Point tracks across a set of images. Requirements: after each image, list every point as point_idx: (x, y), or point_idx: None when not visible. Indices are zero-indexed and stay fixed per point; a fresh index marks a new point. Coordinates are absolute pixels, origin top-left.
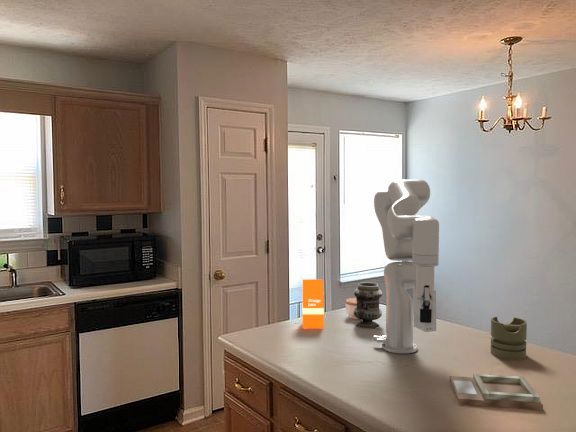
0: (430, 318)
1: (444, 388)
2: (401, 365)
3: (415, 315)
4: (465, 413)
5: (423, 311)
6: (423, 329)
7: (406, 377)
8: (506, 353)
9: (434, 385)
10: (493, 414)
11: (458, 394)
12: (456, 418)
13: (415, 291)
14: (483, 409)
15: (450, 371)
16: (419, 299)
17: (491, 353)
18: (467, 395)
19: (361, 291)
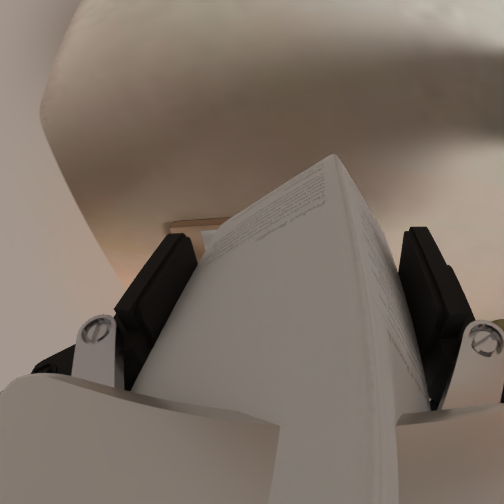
0: None
1: (262, 195)
2: (429, 75)
3: (303, 205)
4: (138, 231)
5: (116, 316)
6: (226, 222)
7: (321, 83)
8: None
9: (276, 168)
10: None
11: (194, 230)
12: (110, 213)
13: (70, 491)
14: None
15: (400, 223)
16: (179, 398)
17: (497, 321)
18: (196, 249)
19: None
